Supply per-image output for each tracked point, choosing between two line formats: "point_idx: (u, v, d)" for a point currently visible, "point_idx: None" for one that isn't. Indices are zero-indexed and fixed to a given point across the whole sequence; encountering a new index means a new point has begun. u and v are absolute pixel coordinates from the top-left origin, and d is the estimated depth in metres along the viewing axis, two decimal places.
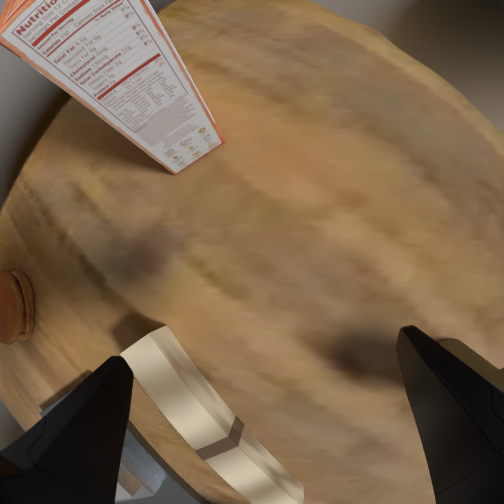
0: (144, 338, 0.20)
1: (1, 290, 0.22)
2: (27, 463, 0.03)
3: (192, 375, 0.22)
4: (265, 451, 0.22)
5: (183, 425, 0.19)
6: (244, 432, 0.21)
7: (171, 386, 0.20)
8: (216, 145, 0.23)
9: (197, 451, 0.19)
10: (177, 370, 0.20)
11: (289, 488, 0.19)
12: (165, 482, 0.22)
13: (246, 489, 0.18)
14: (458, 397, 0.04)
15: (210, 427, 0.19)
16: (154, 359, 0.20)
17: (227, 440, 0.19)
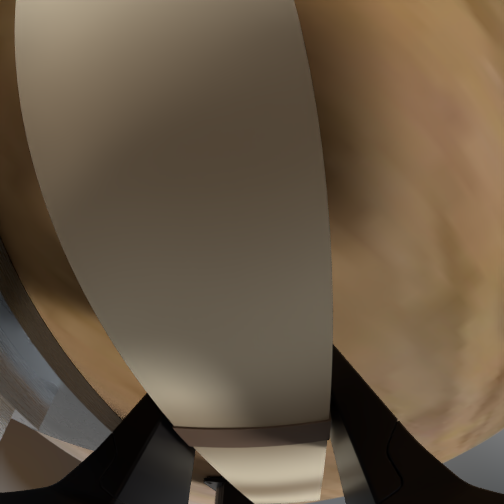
0: None
1: None
2: (103, 497, 0.03)
3: None
4: None
5: (163, 359, 0.04)
6: None
7: (200, 114, 0.03)
8: None
9: (181, 430, 0.06)
10: (295, 39, 0.03)
11: None
12: (61, 396, 0.10)
13: (254, 485, 0.08)
14: (350, 430, 0.05)
15: (291, 389, 0.05)
16: None
17: (316, 428, 0.05)
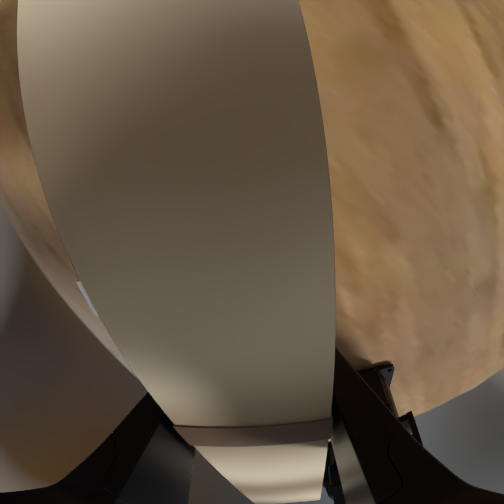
0: None
1: None
2: (103, 497, 0.03)
3: None
4: None
5: (164, 356, 0.04)
6: None
7: (203, 107, 0.03)
8: None
9: (182, 428, 0.06)
10: (299, 34, 0.02)
11: None
12: None
13: (255, 484, 0.08)
14: (350, 430, 0.05)
15: (294, 387, 0.05)
16: None
17: (318, 426, 0.05)
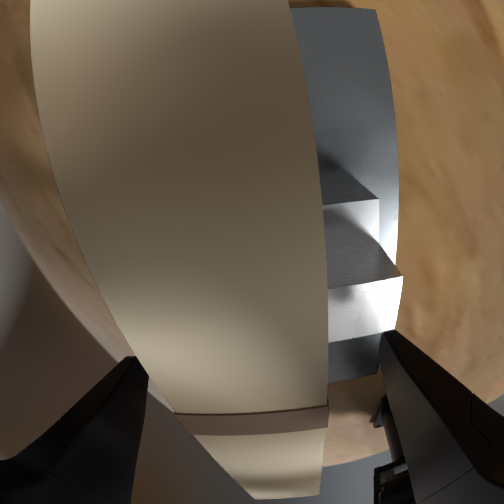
0: None
1: None
2: (42, 471, 0.03)
3: None
4: None
5: (166, 341, 0.05)
6: None
7: (205, 108, 0.03)
8: None
9: (182, 417, 0.06)
10: (291, 40, 0.03)
11: None
12: None
13: (254, 477, 0.09)
14: (435, 406, 0.04)
15: (290, 372, 0.05)
16: None
17: (314, 413, 0.06)
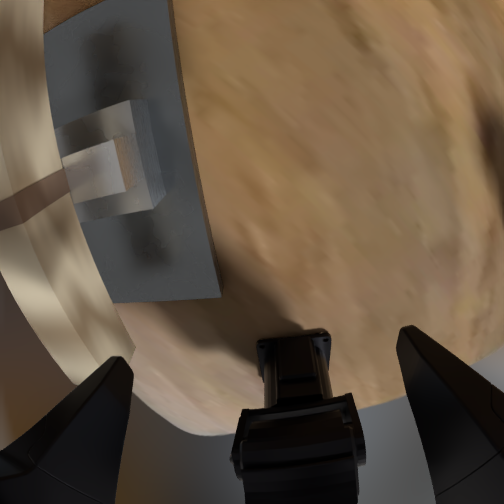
0: None
1: None
2: (27, 463, 0.03)
3: (23, 64, 0.07)
4: (88, 258, 0.13)
5: None
6: (61, 204, 0.11)
7: None
8: None
9: None
10: None
11: (104, 345, 0.13)
12: (175, 191, 0.16)
13: (35, 318, 0.11)
14: (458, 397, 0.04)
15: None
16: None
17: (11, 203, 0.08)
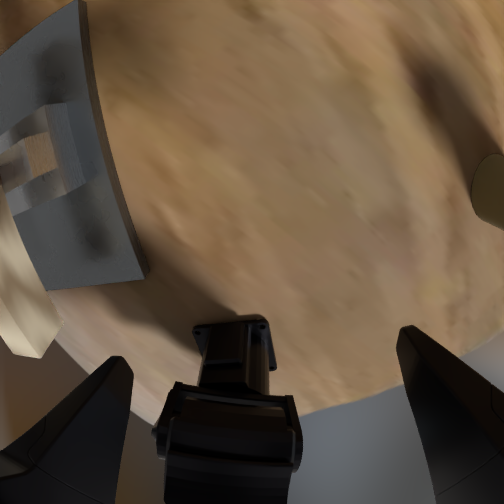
0: None
1: None
2: (27, 463, 0.03)
3: None
4: (16, 238, 0.13)
5: None
6: None
7: None
8: None
9: None
10: None
11: (28, 314, 0.13)
12: (92, 179, 0.16)
13: None
14: (458, 397, 0.04)
15: None
16: None
17: None
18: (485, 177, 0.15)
